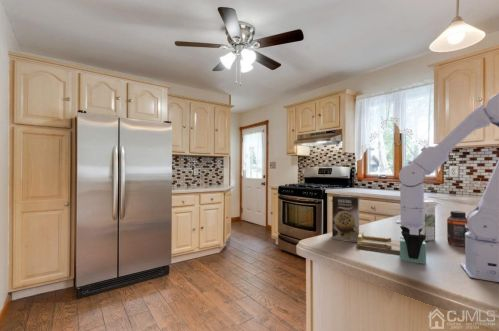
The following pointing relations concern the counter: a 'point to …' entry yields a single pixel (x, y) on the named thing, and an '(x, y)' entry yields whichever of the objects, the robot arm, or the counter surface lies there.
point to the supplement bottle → (457, 228)
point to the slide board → (378, 244)
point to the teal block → (404, 252)
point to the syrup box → (429, 220)
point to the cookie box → (345, 217)
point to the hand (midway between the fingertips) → (412, 254)
